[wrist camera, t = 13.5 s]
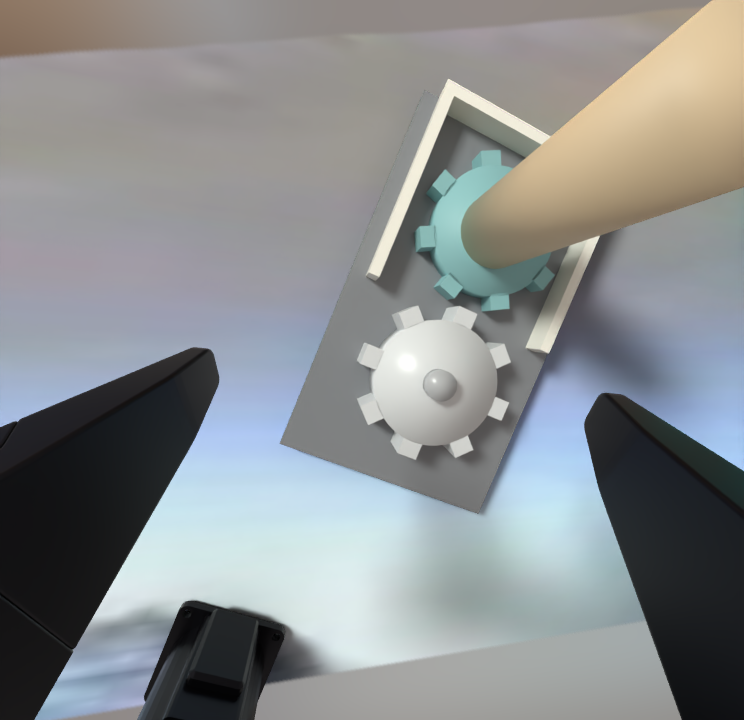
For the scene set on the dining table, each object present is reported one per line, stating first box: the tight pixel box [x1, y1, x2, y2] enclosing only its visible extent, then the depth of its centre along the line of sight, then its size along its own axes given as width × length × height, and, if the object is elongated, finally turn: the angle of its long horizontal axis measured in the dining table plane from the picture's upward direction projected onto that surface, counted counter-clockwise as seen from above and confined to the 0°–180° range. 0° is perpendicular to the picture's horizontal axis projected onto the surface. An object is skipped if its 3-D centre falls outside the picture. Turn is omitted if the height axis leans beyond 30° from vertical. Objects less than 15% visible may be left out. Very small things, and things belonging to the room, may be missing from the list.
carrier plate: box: [280, 79, 600, 514], centre depth 20 cm, size 21×13×4 cm, turn 157°
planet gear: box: [414, 0, 744, 311], centre depth 14 cm, size 8×8×13 cm
